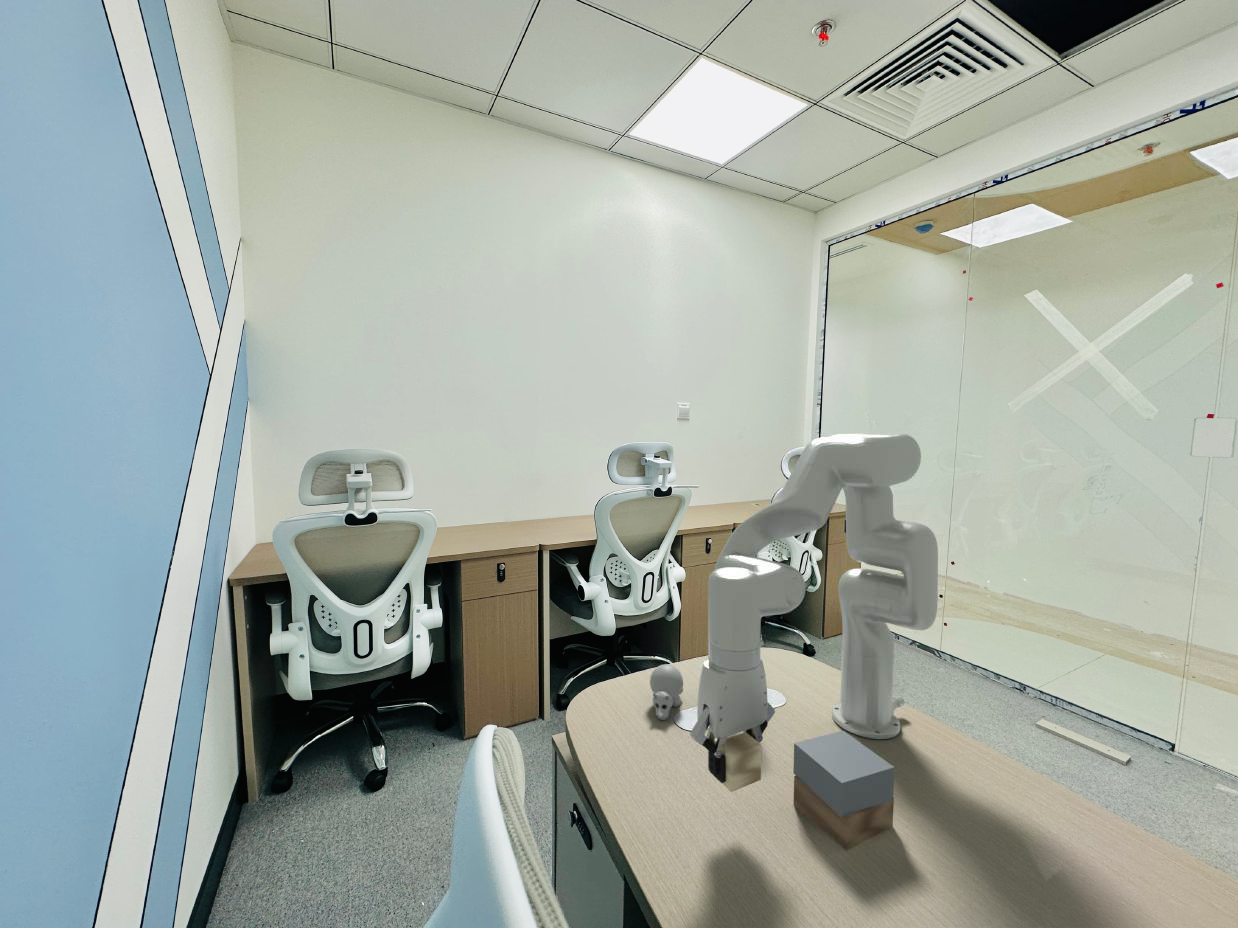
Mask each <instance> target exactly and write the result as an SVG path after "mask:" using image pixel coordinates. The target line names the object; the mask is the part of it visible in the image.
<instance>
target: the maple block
mask: <svg viewBox="0 0 1238 928" xmlns="http://www.w3.org/2000/svg"><path fill="white" fill-rule="evenodd" d="M716 742H717V738H715V740H714V744H716ZM723 755H724V756H725V758H726V780H725V782H724V783H721V784H722V785H723V786H724V787H725V788H726V789H727V790H728V791H729V792H731V793H732V792H735V791H737V790H740V789H742V788H745V787H747V786H750V785H752V784H754V783H756V782H759V781H761V780H762V743H761V742H760V743H759V742H758V741H756V740H755V739H754V738H753V737H751V736H750V735H749V734H747V733H746V732H745V731H742V732H739V733H737V734H734V735H731V736H728V737H727V738H726V742H725V746H724V750H723ZM707 770H708V771H709V750H707Z"/></svg>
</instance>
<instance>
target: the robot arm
mask: <svg viewBox="0 0 1238 928" xmlns="http://www.w3.org/2000/svg"><path fill="white" fill-rule="evenodd" d="M921 459H922V453H921V449H920V446H919V444H918V442H917V440H916V439H915V438H914V437H913V436H911V435H909V434H904V433H840V434H834V435H831V436H823V437H818V438H815V439H813V440H811V441H810V442H808V444H806V446H805V447H804V448H803V450H802V452H801V454H800V456H799V458H798V460H797V462H796V464H795V466H794V467H793V469H792V471H791V473H790V475H789V477H788V479H787V481H786V482H785V484H784V486H783V488H782V490H781V492H780V494H779V496H778V497H777V499H775V501H773V502H771V503H770V504H768V505H766V506H764V507H763V508H760V510H758V511H756V512H755V513H754V514H751V516H750V517H748V518H747V519H745V520H744V521H742V522H741V523H740V524H739V525H738V526H737V527H736V528H735V529H734V530H733V532H732V533H731V534H730V536H729V537H728V539H727V541H726V543H725V545H724V547H723V548H722V550H721V551H720V554H719V556H718V558H717V561H716V564H715V566H714V570H713V571H712V572H711V573H710V574H709V577H708V581H707V583H708V584H707V603H708V605H707V613H708V614H707V616H708V617H707V622H708V623H707V626H708V628H707V629H708V630H707V631H708V638H707V641H708V643H707V644H708V645H707V647H708V648H707V649H708V650H707V651H708V652H707V653H708V656H707V658H708V659H707V660H706V661H704V662H703V665H702V667H701V673H700V677H699V683H698V694H697V695H698V696H697V713H696V714H697V715H696V716H697V721H696V722H695V724H694V726H693V727H692V730H691V731H690V733H689V737H690V738H691V739H693V740H694V741H695V742H696V743H698V744H699V745H700V746H702V747H704V748H705V749H706V750H707V751H708V750H709V770H708V771H709V773H710V774H712V776H713V777H714V778H715V779H716V780H717V781H718V782H719V783H720V784H722V783H724V782H725V780H726V758H725V756H724V755H723V750H724V746H725V742H726V738H727V737H728V736H731V735H734V734H737V733H739V732H742V731H745V732H746V733H747V734H749V735H750V736H751V737H753V738H754V739H755V740H756V741H758V742H759V743H760V744H761V742H762V741H763V739H764V735H763V734H764V732H765V730H766V729H767V727H768V724H769V722H770V720H772V718H773V716H774V714H775V712H776V711H775V708H774V707H773V706H772V705H771V703H769V702H768V687H767V686H768V685H767V678H766V672H765V671H766V670H765V666H764V663H763V660H762V658H761V649H762V648H763V647H765V643H764V640H763V639H762V638H761V624H762V623H761V621H762V617H766V616H768V617H769V616H774V615H775V616H776V615H783V614H787V613H791V612H792V611H793V610H795V609H796V608H797V607H799V606H800V604H801V603H802V602H803V600H804V597H805V594H806V589H807V588H806V582H805V578H804V576H803V575H802V573H801V572H800V571H799V570H798V569H796V568H795V567H794V566H791V565H789V564H786V563H784V562H783V563H782V562H778V561H774V560H768V559H766V558H762V557H758V556H757V555H758V554H759V552H761V551H762V550H763V549H765V548H766V547H767V546H769V545H771V544H773V543H774V542H777V541H780V540H784V539H787V538H791V537H795V536H801V535H803V534H808V533H811V532H814V531H816V530H819V529H821V528H822V527H823V526H825V524H826V523H827V521H828V520H829V517H830V514H831V513H832V510H833V508H834V506H835V504H836V502H837V500H838V498H839V496H840V493H841V491H842V490H843V492H844V498H845V541H846V543H845V544H846V550H847V553H848V556H849V557H850V558H851V559H852V560H853V561H855V562H858V563H861V564H864V565H868V566H873V567H874V566H875V567H878V568H883V569H884V568H885V569H889V570H893V571H898V572H901V573H902V575H898V574H895V573H890V572H885V571H880V570H876V569H869V568H863V567H862V568H861V567H860V568H859V567H857V568H851V569H849V570H848V569H847V571H845V572H844V573H843V574H842V575H841V576H840V578H839V582H838V587H837V589H838V590H837V591H838V593H837V594H838V599H839V600H838V601H839V605H840V611H841V623H842V625H841V626H842V627H841V628H842V634H841V635H842V639H841V666H840V667H841V669H840V670H841V671H840V673H841V674H840V698H839V699H840V700H839V701H840V702H838V703H836V704H835V705H833V707H832V710H831V715H832V718H833V721H834V722H835V723H836V724H837V725H838V726H839V727H840V728H842V729H844V730H846V731H848V732H849V733H852V734H854V735H856V736H859V737H863V738H867V739H873V740H886V739H888V740H889V739H891V738H894V737H896V736H898V735H899V734H900V733H901V723H900V721H899V719H898V718H897V717H896V716H895V715H894V711H895V710H896V709H897V708H900V707H903V706H904V705H905V700H904V698H903V697H901V696H900V695H898V696H894V697H893V687H894V661H895V659H894V658H895V656H894V655H895V642H894V641H895V640H894V637H893V634H892V632H891V630H890V627H889V626H888V624H889V625H894V626H897V627H902V628H905V629H909V630H914V631H925V630H929V628H931V627H932V626H933V625H934V623H935V620H936V617H937V613H938V602H939V601H938V600H939V599H938V595H939V590H938V588H939V587H938V584H939V582H938V581H939V548H938V547H939V546H938V542H937V538H936V536H935V533H934V532H933V530H932V529H931V528H930V527H929V526H927V525H924V524H922V523H918V522H914V521H905V520H897V519H896V518H895V517H894V516H895V515H894V494H893V492H892V489H891V487H892V486H894V485H898V484H901V483H906V482H908V481H910V480H911V479H912V478H913V477H914V476H915V475H916V473H917V472H918V471H919V468H920V465H921ZM901 704H902V705H901ZM706 732H707V733H706ZM705 734H707V735H705ZM715 738H717V742H716V744H714V740H715Z"/></svg>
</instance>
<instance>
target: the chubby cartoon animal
mask: <svg viewBox="0 0 1238 928" xmlns="http://www.w3.org/2000/svg"><path fill="white" fill-rule="evenodd" d="M649 685H650V689H651V692H652V705H653V707H654V708H655V714H656V715H655V716H656V717H657V718H658V720H661V721H664V720H667V719H668V718H669V715H670V711H671V708H672V707H674V708H676V707H679V706H680V705H681V704H682V700H681V696H680V695H682V693H683V692H684V688H683V687H684V678H683V675H682V673H681V671H680V670H679V669H678V668H677V667H676V666H674V665H671V664H667V663H665V664H659V665H658V666H657V667H656V668H654V670H653V671H652V672H651V675H650V678H649Z"/></svg>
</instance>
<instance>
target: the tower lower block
mask: <svg viewBox="0 0 1238 928" xmlns="http://www.w3.org/2000/svg"><path fill="white" fill-rule="evenodd" d="M894 799H895V797H894V796H893V800H890V801H887V802H884V803H881V804H878V805H875V806H872V807H869V808H866V809H863V810H860V811H857V812H854V813H851V814H848V815H845V816H842V817H840V816H839V815H838V814H837V813H836V812H835V811H834V810H833V809H832V808H831V807H829V806H828V805H827V804H826V803H825V802H824V801H823V800H822V799H821V798H820V797H819V796H818V795H816V794H815V793H814V792H813V791H812V790H811V789H810V788H809V787H808V786H807V785H806V784H805V783H804V782H802V781H801V780H800V779H799V778H798V777H797V776H796V775H794V776H793V806H794V807H796V808H797V809H798V810H799V811H800V812H802V813H803V814H804V815H805V816H806V817H807V819H810V820H811V821H812V823H814V824H815V825H816V826H818V828H820V829H821V830H822V831H823V832H824V833H825V834H827V835H828V836H829V837H830V838H831V839H832V840H834V841H835V842H836V843H837V844H838V845H839V846H840V847H841V848H843V849H844V850H845V851H847V850H849V849H851V848H854V847H856V846H857V845H859V844H861V843H864V842H866V841H867V840H869V839H872V838H873V837H876V836H878V835H880V834H881V833H884V832H885V831H888V830H889V829H892V828H893V827H894V826H893V825H894V806H895V805H894V804H895V803H894V802H895V801H894Z"/></svg>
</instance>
